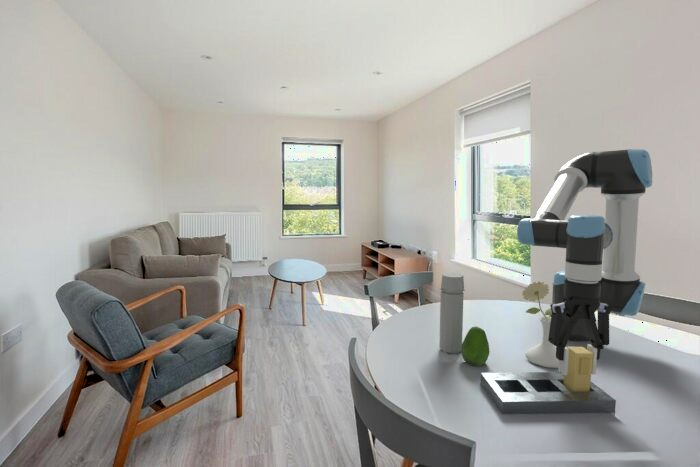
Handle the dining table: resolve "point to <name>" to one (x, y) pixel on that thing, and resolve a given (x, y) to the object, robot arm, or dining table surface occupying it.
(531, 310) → the flower in vase
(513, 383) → the jack panel
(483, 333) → the avocado
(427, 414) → the dining table surface
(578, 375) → the yellow tall block
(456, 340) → the water bottle
